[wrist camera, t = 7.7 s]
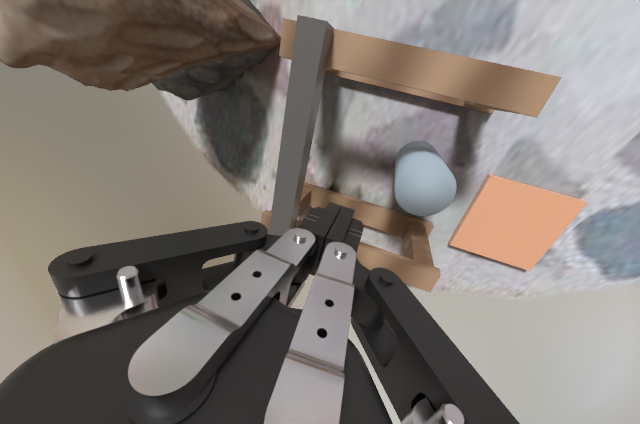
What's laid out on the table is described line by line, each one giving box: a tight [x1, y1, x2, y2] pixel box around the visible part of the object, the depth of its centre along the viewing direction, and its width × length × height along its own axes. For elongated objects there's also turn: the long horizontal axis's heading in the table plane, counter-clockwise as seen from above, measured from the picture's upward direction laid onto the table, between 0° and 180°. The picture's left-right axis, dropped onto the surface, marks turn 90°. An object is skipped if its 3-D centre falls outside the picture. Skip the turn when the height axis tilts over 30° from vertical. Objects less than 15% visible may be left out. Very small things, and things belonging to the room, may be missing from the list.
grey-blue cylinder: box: [395, 142, 457, 216], centre depth 26 cm, size 5×5×10 cm
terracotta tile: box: [449, 174, 588, 271], centre depth 30 cm, size 10×10×1 cm
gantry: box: [261, 18, 562, 292], centre depth 26 cm, size 20×20×11 cm
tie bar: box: [269, 15, 334, 236], centre depth 21 cm, size 2×19×2 cm, turn 168°
